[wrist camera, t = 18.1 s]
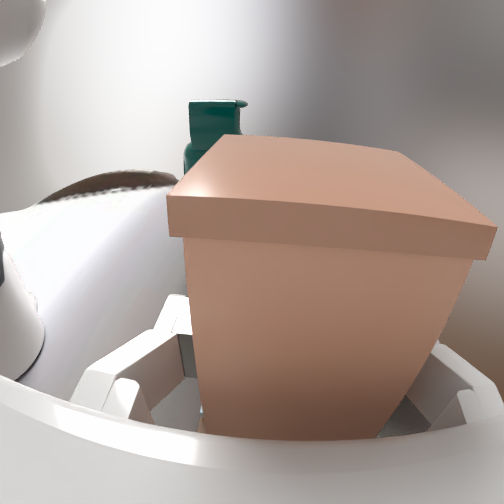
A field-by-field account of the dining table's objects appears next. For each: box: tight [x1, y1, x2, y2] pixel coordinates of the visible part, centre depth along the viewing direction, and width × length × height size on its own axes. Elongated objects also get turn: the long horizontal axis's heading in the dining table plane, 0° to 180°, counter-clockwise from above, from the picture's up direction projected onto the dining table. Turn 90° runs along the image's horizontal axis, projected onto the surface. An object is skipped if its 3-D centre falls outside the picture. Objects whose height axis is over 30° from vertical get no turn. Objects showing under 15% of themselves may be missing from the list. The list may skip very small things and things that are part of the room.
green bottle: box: [184, 100, 248, 175], centre depth 39 cm, size 10×8×22 cm
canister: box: [166, 134, 497, 441], centre depth 9 cm, size 5×5×11 cm
